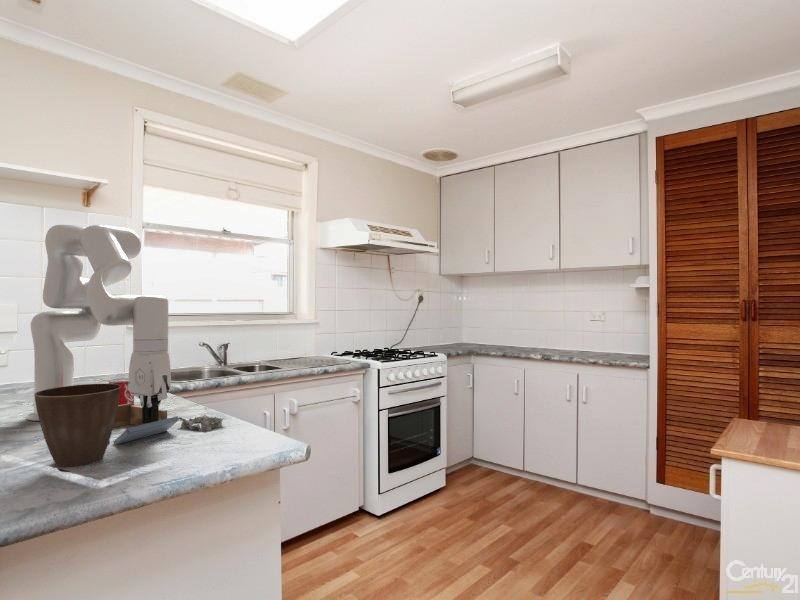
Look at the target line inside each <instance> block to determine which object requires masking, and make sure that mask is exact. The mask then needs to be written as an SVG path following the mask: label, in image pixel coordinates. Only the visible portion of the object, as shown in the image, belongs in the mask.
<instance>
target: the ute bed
mask: <svg viewBox="0 0 800 600" xmlns="http://www.w3.org/2000/svg"><path fill="white" fill-rule="evenodd" d="M164 419H168V410H167V409H160V408H159V420H158V421H160V420H164ZM125 425H133V426H134V425H135V426H139V425H143V423H142V406H141V405H135V404H134V405H133V403H129V404H123V405H118V409H117V414H116V418H115V422H114V426H113V428H118V427H121V426H125ZM110 441H111V439H110V440H109V443H108V445H110Z"/></svg>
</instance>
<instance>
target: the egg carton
mask: <svg viewBox="0 0 800 600" xmlns="http://www.w3.org/2000/svg"><path fill="white" fill-rule="evenodd" d="M178 419H179V421H181V425H180V428H182V429H185V428H189V430H198V431H200V432H204V431H206V432H207V431H211V430H212V429H214V428H217V429H218V428H222V425H223V420H224V419H225V417H223V418H222V417H220V418H219V417H217V416H214V417H213V416H208V415H206V414H205V415H200V416H197V417H196V416H195V417H194V418H189V420H187V419H186V418H184V417H183V418H182V417H181V416H179V417H178ZM194 423H198V424H194Z"/></svg>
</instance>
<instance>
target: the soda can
mask: <svg viewBox="0 0 800 600" xmlns="http://www.w3.org/2000/svg"><path fill="white" fill-rule="evenodd" d="M107 384H117V385H120V386H121V391H120V397H119V403H118V405H123V404H129V403H133V405H135V395H134V394H133V393H131V392H129V390H128V377H127V378H114V379H109V380H108V383H107Z"/></svg>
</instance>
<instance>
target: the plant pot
mask: <svg viewBox="0 0 800 600" xmlns="http://www.w3.org/2000/svg"><path fill="white" fill-rule="evenodd" d="M120 391H121V386H120V385H117V384H108V383H87V384H86V383H85V384H76V385H75V384H73V386H65V387H57V388H51V389H46V390H42V391H39V392H36V393H35V394H34V393H33V396H35V402H36V408H37V413H38V417H39V421H38V422H39V424H40V429H41V432H42V435H43V438H44V441H45V443H46V446H47V448H48V451H49V453H50V456H51V458H52V459H53V462H54V464H55V466H56V467H57V470H58V471H60V472H63V473H71V471H70V470H66V469H63V468H76V467H82V466H87V465H91V464H94V463H97V462H99V461H101V460H103V458H104V456H105V454H106V451H107V448H108V445H109V444H108V443H109V440H110V441H111V435H112V433H113V429H114V427H113V426H114V422H115V418H116V414H117V409H118V403H119V397H120Z"/></svg>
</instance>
